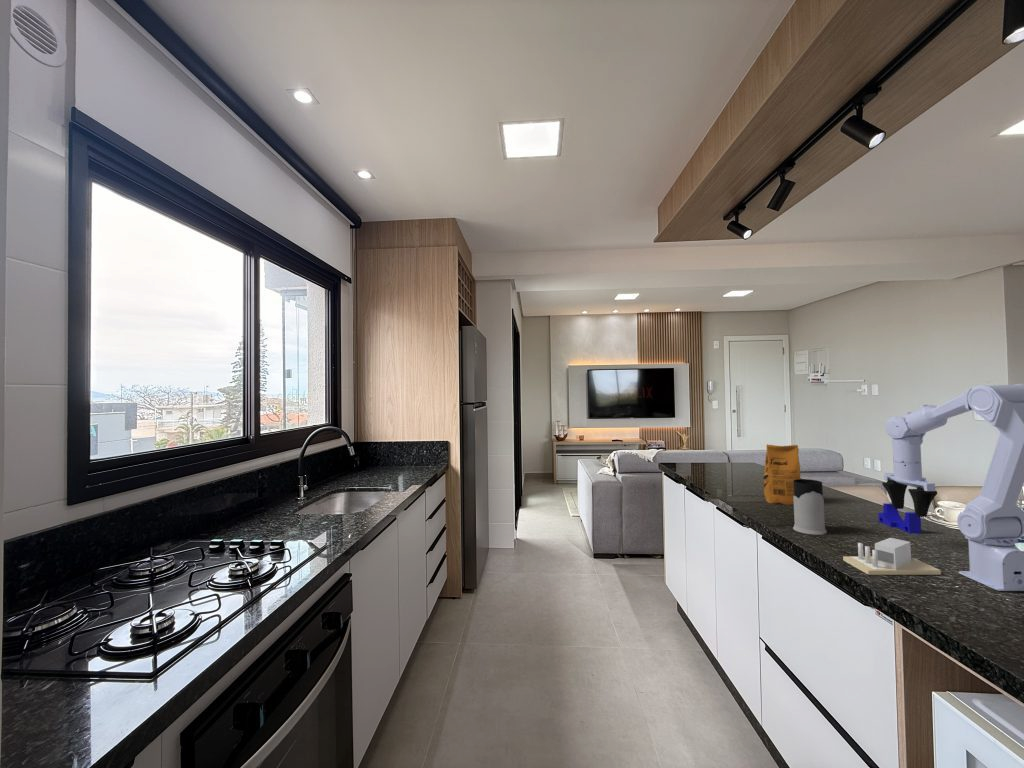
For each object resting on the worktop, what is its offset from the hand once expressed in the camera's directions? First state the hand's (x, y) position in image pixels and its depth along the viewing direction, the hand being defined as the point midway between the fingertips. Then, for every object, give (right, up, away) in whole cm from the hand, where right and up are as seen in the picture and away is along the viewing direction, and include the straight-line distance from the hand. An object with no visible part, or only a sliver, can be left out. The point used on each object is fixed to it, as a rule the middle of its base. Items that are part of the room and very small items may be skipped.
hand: (909, 512), depth 121 cm
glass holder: (-14, -11, +21) cm, 28 cm away
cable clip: (+13, -10, +18) cm, 25 cm away
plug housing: (-11, -9, -10) cm, 18 cm away
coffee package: (-3, -11, +52) cm, 53 cm away
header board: (-15, -10, -11) cm, 21 cm away
